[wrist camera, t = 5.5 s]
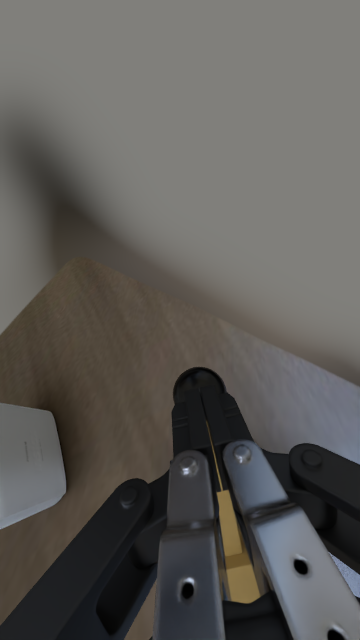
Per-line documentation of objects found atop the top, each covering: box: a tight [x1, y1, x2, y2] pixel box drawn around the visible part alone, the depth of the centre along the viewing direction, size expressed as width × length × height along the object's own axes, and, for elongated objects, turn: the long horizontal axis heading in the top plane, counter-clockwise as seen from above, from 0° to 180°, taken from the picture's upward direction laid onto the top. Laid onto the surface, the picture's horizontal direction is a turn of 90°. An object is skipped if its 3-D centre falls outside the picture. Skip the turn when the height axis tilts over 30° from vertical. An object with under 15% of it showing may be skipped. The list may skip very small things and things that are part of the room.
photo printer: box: [0, 403, 66, 529], centre depth 23 cm, size 10×4×12 cm, turn 24°
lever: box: [173, 367, 260, 603], centre depth 15 cm, size 14×3×3 cm, turn 11°
